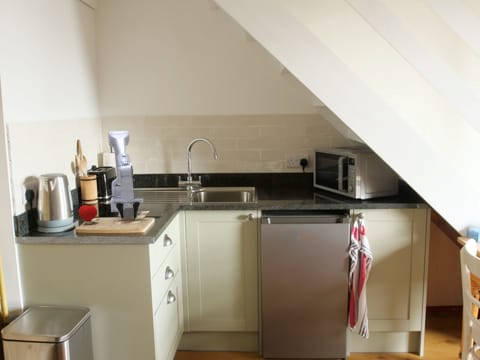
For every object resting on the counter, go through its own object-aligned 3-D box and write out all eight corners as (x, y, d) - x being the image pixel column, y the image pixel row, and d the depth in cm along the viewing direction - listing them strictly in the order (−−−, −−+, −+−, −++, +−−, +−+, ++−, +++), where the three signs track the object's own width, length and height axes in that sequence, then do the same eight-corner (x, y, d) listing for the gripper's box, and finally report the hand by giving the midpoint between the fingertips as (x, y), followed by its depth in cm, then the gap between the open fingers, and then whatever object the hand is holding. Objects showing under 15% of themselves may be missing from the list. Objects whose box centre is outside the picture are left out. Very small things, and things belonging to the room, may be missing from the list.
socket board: (112, 227, 205) (112, 223, 204) (127, 214, 230) (126, 211, 230) (138, 226, 205) (138, 222, 204) (150, 213, 230) (149, 210, 230)
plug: (124, 224, 210) (123, 209, 209) (126, 222, 214) (125, 208, 213) (132, 224, 210) (131, 209, 209) (134, 222, 214) (133, 207, 213)
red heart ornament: (76, 227, 206) (74, 206, 205) (86, 224, 213) (84, 203, 211) (92, 228, 203) (90, 207, 201) (102, 225, 209) (100, 204, 208)
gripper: (109, 192, 205) (111, 220, 207) (140, 191, 205) (142, 219, 207) (113, 189, 212) (115, 217, 214) (143, 188, 212) (145, 216, 214)
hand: (129, 218), depth 211 cm, fingers open, 5 cm apart
